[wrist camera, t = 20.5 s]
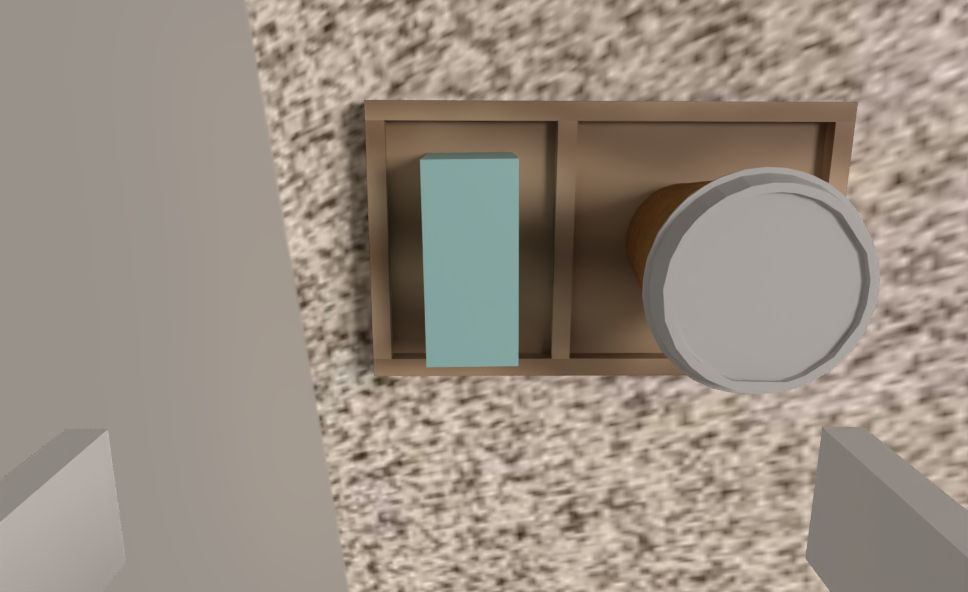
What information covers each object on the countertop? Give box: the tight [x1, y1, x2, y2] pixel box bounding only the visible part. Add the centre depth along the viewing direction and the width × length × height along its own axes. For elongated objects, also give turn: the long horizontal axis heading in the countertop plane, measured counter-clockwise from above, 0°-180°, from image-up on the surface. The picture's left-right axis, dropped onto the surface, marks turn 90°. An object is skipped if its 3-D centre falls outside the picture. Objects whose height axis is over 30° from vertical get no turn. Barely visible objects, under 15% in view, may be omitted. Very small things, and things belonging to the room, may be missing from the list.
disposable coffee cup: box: [626, 167, 880, 394], centre depth 34 cm, size 10×10×12 cm
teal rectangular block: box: [420, 152, 519, 367], centre depth 37 cm, size 10×4×6 cm, turn 1°
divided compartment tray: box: [364, 100, 858, 376], centre depth 40 cm, size 15×26×2 cm, turn 90°
